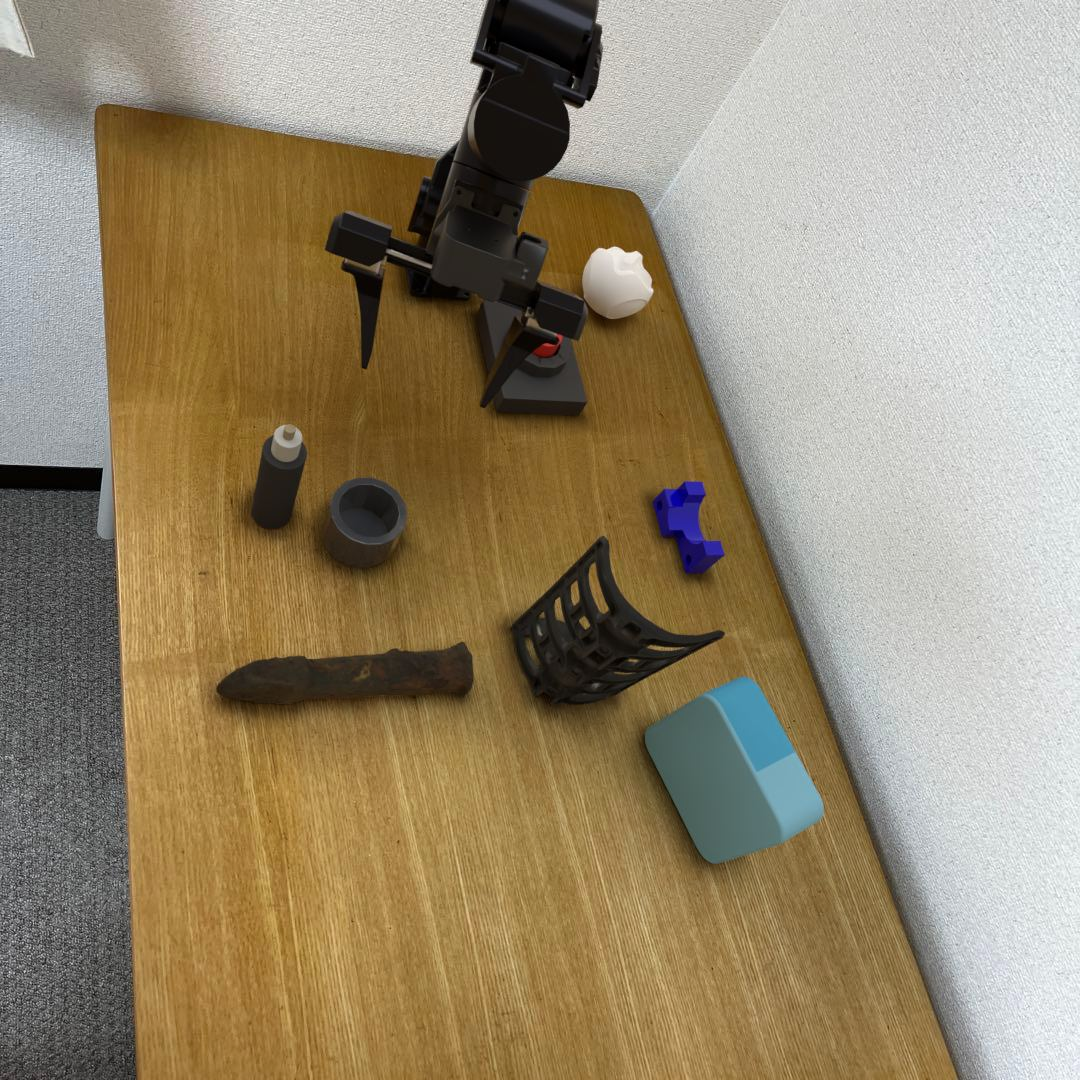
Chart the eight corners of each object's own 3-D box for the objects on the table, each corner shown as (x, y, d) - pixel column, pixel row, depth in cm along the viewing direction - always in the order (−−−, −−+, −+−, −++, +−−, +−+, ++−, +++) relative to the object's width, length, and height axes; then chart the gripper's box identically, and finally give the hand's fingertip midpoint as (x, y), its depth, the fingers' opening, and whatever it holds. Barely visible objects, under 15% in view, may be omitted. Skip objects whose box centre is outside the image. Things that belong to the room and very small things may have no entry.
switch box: (475, 315, 93) (487, 289, 89) (554, 322, 96) (568, 297, 93) (496, 412, 88) (509, 388, 84) (578, 415, 91) (594, 392, 88)
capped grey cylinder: (250, 495, 74) (265, 408, 64) (289, 495, 76) (310, 410, 65) (252, 529, 73) (268, 446, 63) (292, 529, 74) (314, 448, 64)
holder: (630, 656, 80) (743, 579, 62) (604, 734, 76) (716, 676, 59) (519, 603, 79) (603, 509, 61) (488, 679, 75) (567, 603, 58)
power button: (519, 327, 89) (525, 315, 88) (552, 329, 90) (558, 318, 89) (526, 356, 88) (532, 345, 86) (559, 358, 89) (566, 347, 88)
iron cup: (318, 503, 76) (326, 476, 73) (390, 503, 79) (401, 477, 75) (325, 569, 74) (334, 545, 70) (399, 567, 76) (411, 543, 73)
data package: (745, 845, 76) (833, 816, 66) (705, 868, 73) (790, 841, 64) (677, 715, 79) (751, 669, 69) (637, 733, 77) (708, 688, 67)
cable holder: (652, 501, 90) (671, 481, 86) (682, 501, 91) (702, 481, 88) (672, 574, 86) (693, 555, 83) (703, 573, 88) (724, 555, 84)
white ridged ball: (645, 313, 102) (678, 265, 96) (612, 345, 98) (644, 297, 91) (592, 268, 102) (621, 217, 96) (556, 298, 98) (584, 247, 92)
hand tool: (459, 654, 74) (475, 633, 71) (464, 701, 73) (481, 682, 69) (216, 659, 67) (220, 636, 64) (216, 711, 66) (219, 690, 62)
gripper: (353, 119, 53) (286, 369, 58) (639, 232, 57) (554, 455, 62) (362, 127, 63) (304, 339, 68) (605, 223, 68) (534, 415, 73)
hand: (424, 387), depth 67 cm, fingers open, 9 cm apart
